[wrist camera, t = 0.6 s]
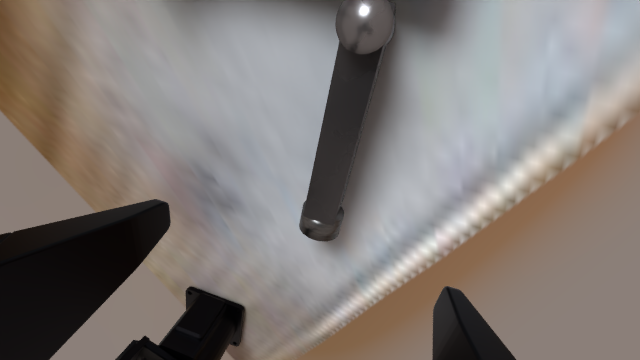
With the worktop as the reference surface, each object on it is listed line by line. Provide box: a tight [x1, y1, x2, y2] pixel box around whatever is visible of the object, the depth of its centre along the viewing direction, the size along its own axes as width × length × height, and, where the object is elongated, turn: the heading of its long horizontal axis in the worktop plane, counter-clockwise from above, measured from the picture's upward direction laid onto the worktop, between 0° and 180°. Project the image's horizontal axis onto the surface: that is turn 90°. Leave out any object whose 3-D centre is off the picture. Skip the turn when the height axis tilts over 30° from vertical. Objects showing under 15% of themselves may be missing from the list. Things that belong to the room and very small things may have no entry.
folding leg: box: [299, 0, 396, 241], centre depth 17 cm, size 14×3×4 cm, turn 168°
